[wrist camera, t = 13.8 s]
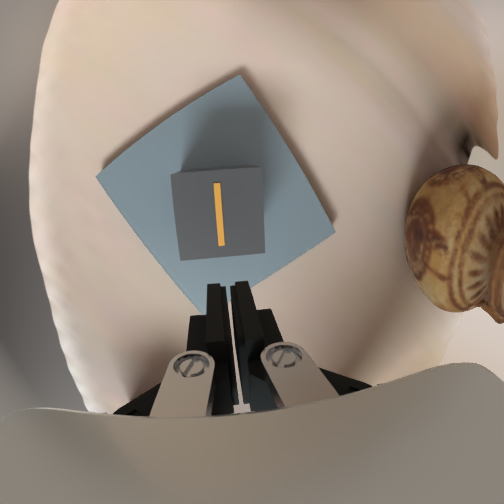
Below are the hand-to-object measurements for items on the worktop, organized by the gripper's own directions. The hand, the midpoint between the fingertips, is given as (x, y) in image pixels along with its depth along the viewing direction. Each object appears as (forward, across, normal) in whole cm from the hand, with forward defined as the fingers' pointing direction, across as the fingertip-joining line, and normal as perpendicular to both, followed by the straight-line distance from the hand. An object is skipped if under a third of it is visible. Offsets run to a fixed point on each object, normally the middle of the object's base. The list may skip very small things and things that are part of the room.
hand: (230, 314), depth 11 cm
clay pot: (+20, -30, +2) cm, 36 cm away
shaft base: (+19, 0, -2) cm, 20 cm away
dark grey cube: (+18, 0, -2) cm, 18 cm away
